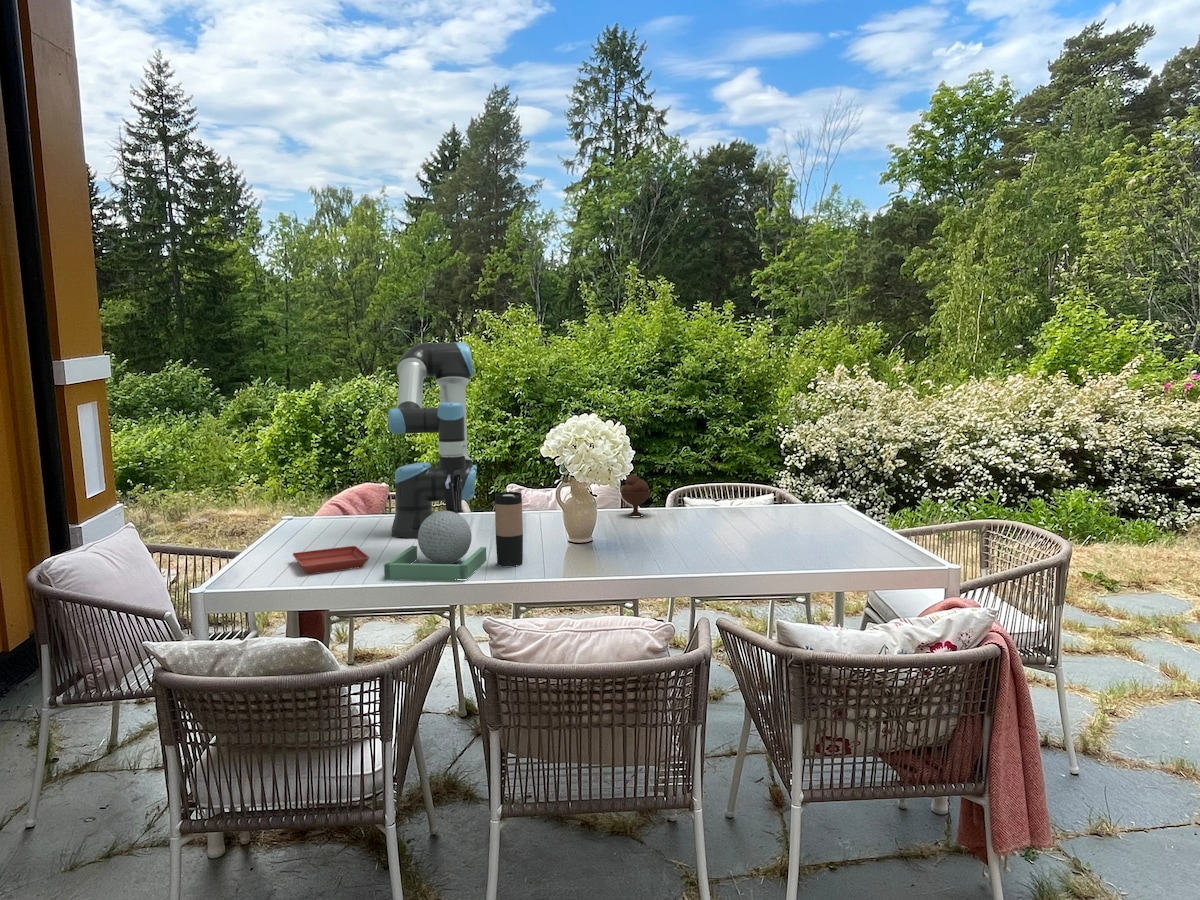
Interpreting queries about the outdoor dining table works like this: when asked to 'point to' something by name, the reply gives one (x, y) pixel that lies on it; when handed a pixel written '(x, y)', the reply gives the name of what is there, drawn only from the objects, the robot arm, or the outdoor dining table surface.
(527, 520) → the outdoor dining table surface
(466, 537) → the decorative ball
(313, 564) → the plant saucer
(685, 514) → the outdoor dining table surface
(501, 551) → the travel mug
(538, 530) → the outdoor dining table surface
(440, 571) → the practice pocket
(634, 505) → the ice cream bowl
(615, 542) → the outdoor dining table surface
